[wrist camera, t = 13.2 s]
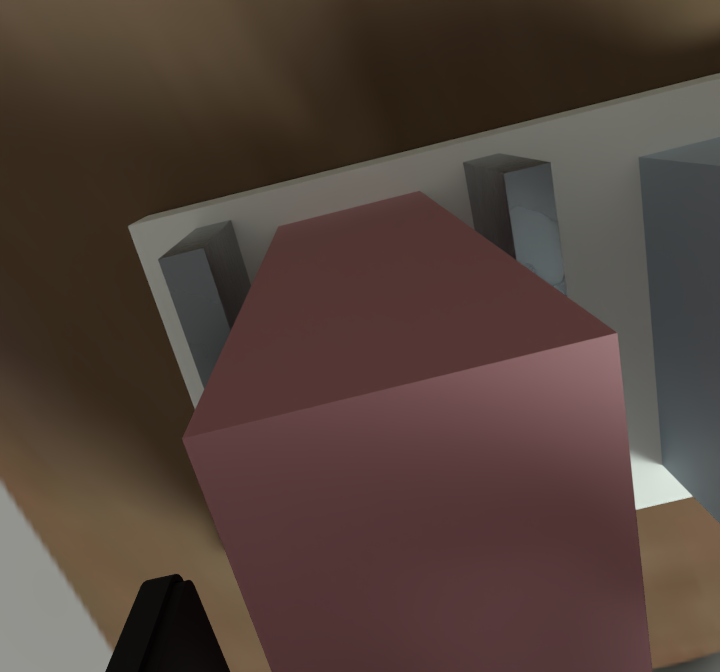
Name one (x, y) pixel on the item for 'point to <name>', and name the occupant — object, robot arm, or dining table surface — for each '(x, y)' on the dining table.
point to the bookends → (491, 219)
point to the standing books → (686, 309)
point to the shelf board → (449, 189)
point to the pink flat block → (421, 456)
